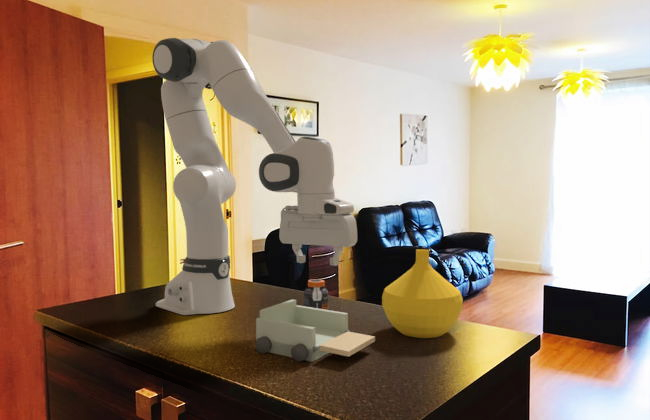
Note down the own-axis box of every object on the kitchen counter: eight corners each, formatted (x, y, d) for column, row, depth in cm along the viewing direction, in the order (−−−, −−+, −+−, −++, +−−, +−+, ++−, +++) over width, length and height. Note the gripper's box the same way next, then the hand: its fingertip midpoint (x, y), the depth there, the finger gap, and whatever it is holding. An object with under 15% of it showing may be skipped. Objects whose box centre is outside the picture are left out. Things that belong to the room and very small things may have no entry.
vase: (464, 324, 128) (465, 246, 126) (459, 348, 110) (461, 257, 109) (389, 318, 133) (390, 243, 132) (374, 339, 116) (374, 253, 115)
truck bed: (252, 351, 108) (251, 312, 108) (298, 331, 122) (298, 297, 122) (311, 364, 100) (311, 323, 100) (353, 341, 114) (353, 305, 114)
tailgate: (319, 345, 103) (348, 351, 99) (347, 331, 112) (375, 336, 108) (319, 351, 103) (348, 357, 99) (347, 337, 112) (375, 342, 108)
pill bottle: (325, 331, 122) (325, 283, 122) (301, 329, 124) (300, 282, 123) (330, 324, 128) (330, 278, 127) (307, 322, 129) (306, 277, 129)
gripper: (273, 206, 127) (274, 262, 128) (346, 206, 116) (347, 269, 117) (288, 204, 132) (290, 259, 133) (360, 205, 121) (361, 264, 122)
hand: (317, 263), depth 125 cm, fingers open, 8 cm apart
